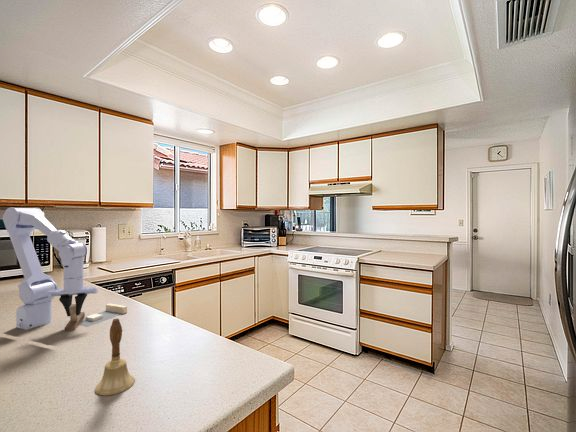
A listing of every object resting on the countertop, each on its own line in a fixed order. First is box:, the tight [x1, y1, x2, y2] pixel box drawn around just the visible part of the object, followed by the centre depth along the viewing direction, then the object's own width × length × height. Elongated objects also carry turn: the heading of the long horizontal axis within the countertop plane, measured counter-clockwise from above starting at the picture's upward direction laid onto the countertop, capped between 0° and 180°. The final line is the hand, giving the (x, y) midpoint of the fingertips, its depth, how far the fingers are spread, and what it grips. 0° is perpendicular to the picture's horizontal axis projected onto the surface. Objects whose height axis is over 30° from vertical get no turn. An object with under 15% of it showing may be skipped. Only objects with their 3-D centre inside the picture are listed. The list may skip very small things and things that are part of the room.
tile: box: [85, 313, 103, 321], centre depth 112 cm, size 4×4×1 cm
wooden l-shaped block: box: [64, 303, 86, 331], centre depth 106 cm, size 3×10×8 cm, turn 18°
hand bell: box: [94, 318, 136, 396], centre depth 71 cm, size 8×8×16 cm
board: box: [79, 303, 128, 328], centre depth 114 cm, size 16×10×4 cm, turn 159°
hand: (73, 315), depth 105 cm, fingers closed on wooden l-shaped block, 2 cm apart
